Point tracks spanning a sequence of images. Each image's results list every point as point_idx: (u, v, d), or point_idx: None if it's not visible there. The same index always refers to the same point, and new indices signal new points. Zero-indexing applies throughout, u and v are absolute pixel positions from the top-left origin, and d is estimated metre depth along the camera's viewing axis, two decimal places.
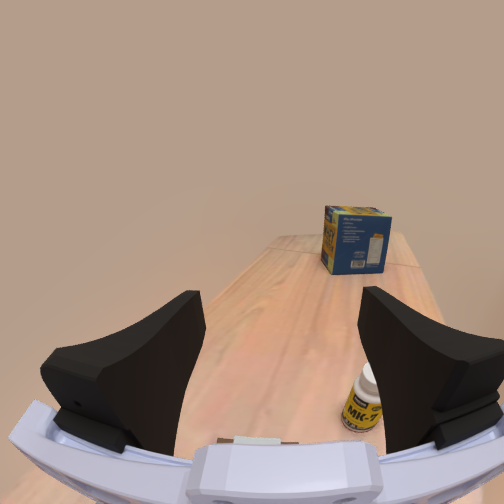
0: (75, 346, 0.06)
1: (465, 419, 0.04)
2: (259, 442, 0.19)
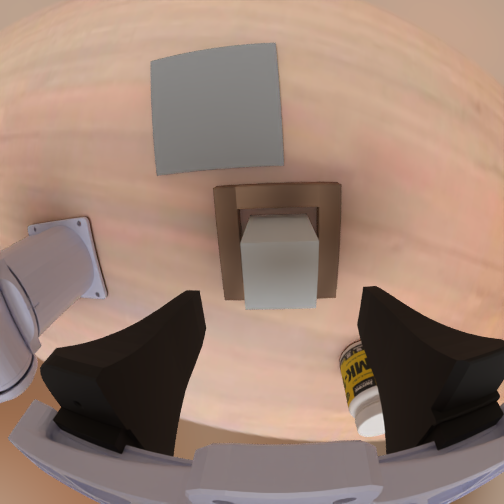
0: (75, 346, 0.06)
1: (465, 419, 0.04)
2: (307, 280, 0.14)
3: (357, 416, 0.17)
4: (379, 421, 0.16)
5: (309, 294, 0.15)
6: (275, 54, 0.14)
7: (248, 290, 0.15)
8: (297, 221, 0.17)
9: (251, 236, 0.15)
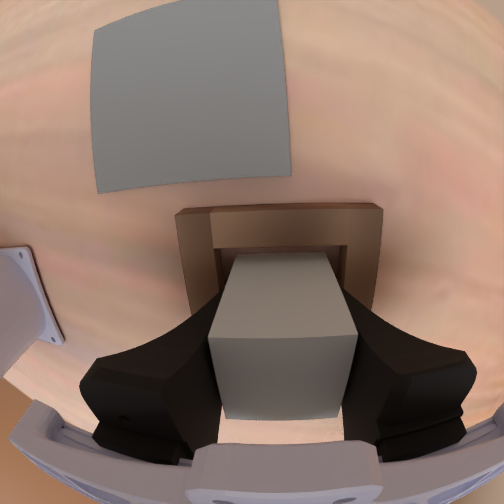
0: (116, 354, 0.06)
1: (418, 435, 0.04)
2: (329, 389, 0.07)
3: None
4: None
5: (329, 404, 0.08)
6: (275, 2, 0.08)
7: (228, 399, 0.08)
8: (312, 272, 0.10)
9: (231, 316, 0.08)
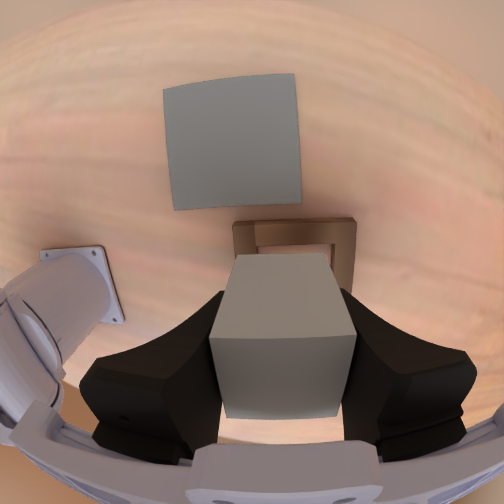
0: (116, 354, 0.06)
1: (418, 435, 0.04)
2: (328, 388, 0.08)
3: None
4: None
5: (329, 403, 0.08)
6: (293, 86, 0.15)
7: (229, 399, 0.08)
8: (312, 273, 0.10)
9: (232, 316, 0.08)
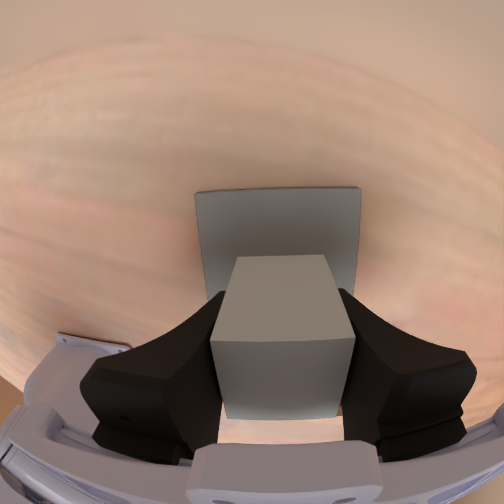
0: (116, 354, 0.06)
1: (418, 435, 0.04)
2: (327, 390, 0.08)
3: None
4: None
5: (328, 404, 0.08)
6: (359, 206, 0.14)
7: (229, 400, 0.08)
8: (312, 275, 0.10)
9: (232, 319, 0.08)
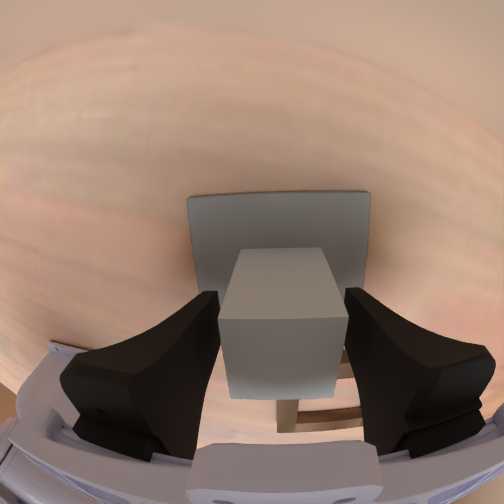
0: (96, 350, 0.06)
1: (442, 427, 0.04)
2: (324, 368, 0.09)
3: None
4: None
5: (325, 383, 0.09)
6: (368, 212, 0.12)
7: (233, 378, 0.09)
8: (309, 265, 0.11)
9: (237, 301, 0.09)
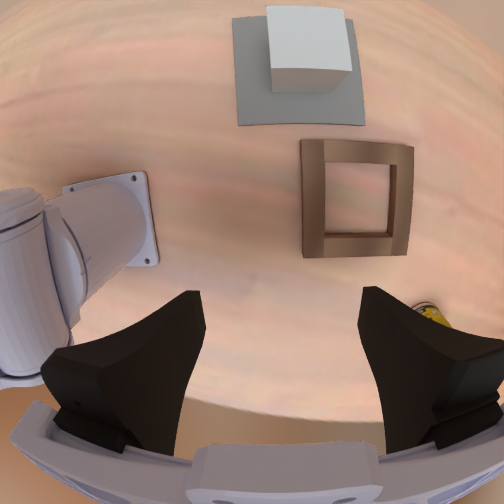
0: (75, 346, 0.06)
1: (465, 419, 0.04)
2: (338, 39, 0.10)
3: None
4: None
5: (342, 54, 0.10)
6: (353, 29, 0.14)
7: (274, 46, 0.10)
8: None
9: None
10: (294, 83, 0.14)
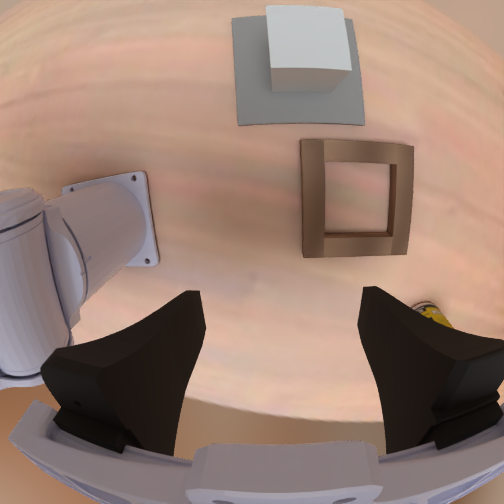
0: (75, 346, 0.06)
1: (465, 419, 0.04)
2: (337, 39, 0.10)
3: None
4: None
5: (342, 54, 0.10)
6: (353, 28, 0.14)
7: (274, 46, 0.10)
8: None
9: None
10: (294, 83, 0.14)
